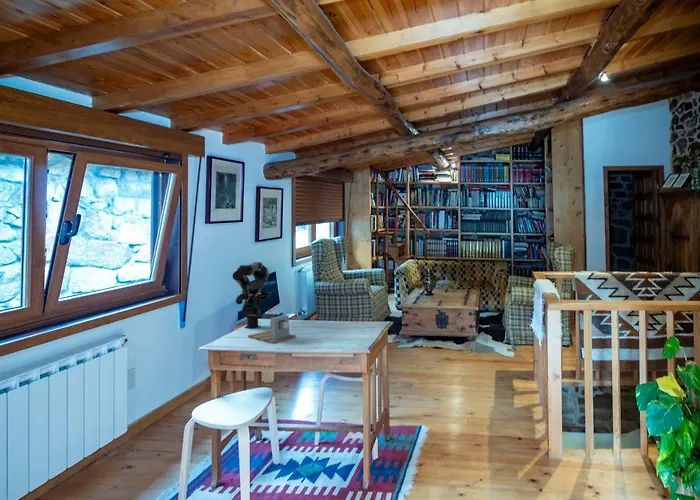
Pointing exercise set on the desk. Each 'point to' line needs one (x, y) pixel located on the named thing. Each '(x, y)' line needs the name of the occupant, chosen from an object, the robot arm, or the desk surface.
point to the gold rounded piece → (283, 324)
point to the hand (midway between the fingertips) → (260, 309)
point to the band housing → (275, 330)
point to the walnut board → (268, 337)
